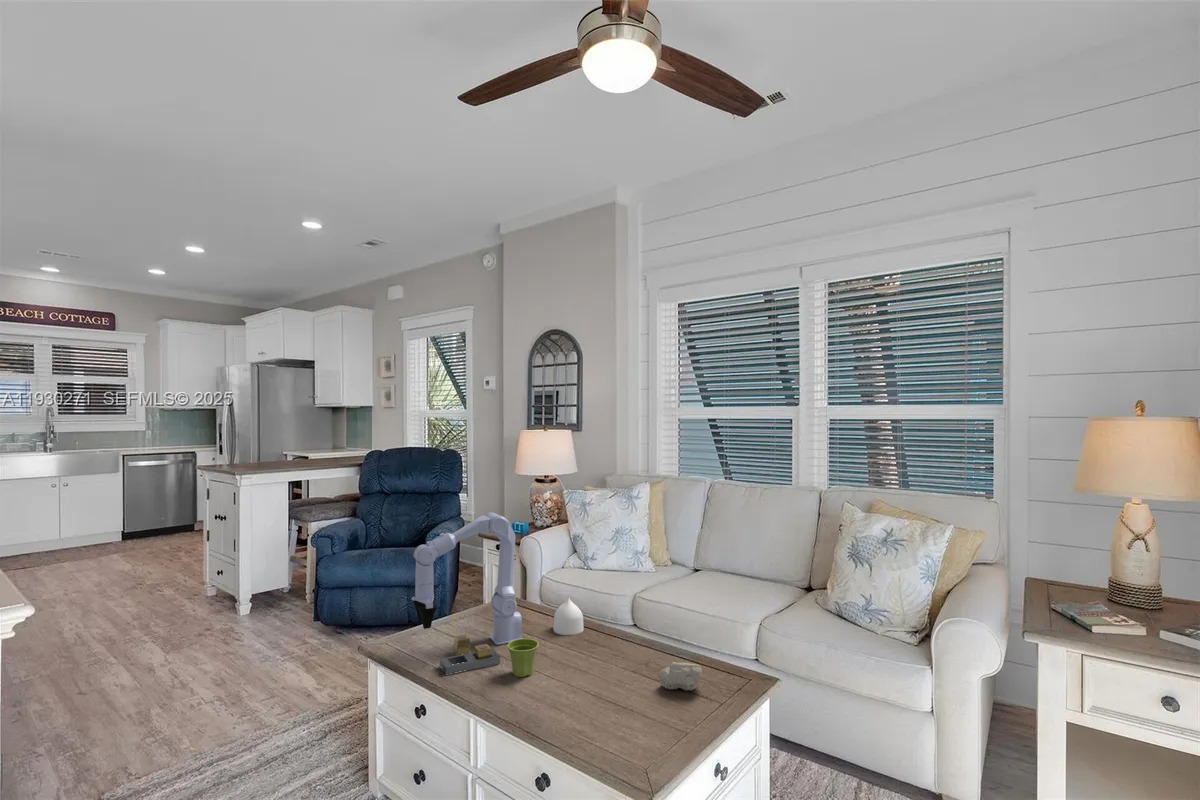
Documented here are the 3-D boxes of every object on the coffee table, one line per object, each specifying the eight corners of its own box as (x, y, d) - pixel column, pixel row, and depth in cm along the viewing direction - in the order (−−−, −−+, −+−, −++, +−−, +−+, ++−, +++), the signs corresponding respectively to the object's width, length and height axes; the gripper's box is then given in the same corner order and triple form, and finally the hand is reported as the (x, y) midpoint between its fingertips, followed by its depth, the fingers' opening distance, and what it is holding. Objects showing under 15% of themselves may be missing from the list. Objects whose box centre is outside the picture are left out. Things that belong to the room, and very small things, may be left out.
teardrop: (566, 637, 211) (566, 603, 211) (547, 629, 219) (547, 596, 219) (589, 630, 219) (589, 597, 219) (570, 622, 227) (570, 590, 227)
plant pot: (533, 681, 177) (533, 651, 177) (502, 678, 179) (502, 649, 179) (542, 667, 186) (542, 639, 186) (513, 665, 188) (513, 637, 188)
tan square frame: (486, 659, 193) (486, 643, 193) (490, 664, 189) (490, 647, 189) (474, 662, 191) (474, 645, 191) (478, 666, 187) (478, 649, 187)
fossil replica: (654, 683, 177) (667, 702, 167) (653, 656, 176) (666, 673, 166) (692, 675, 180) (707, 693, 170) (691, 648, 179) (706, 665, 169)
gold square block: (466, 649, 201) (466, 633, 201) (469, 653, 197) (469, 637, 197) (454, 651, 199) (454, 635, 199) (457, 656, 195) (457, 639, 195)
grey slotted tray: (492, 656, 195) (492, 648, 195) (499, 664, 189) (499, 656, 189) (440, 666, 187) (440, 659, 187) (445, 675, 181) (446, 667, 181)
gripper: (407, 578, 200) (407, 619, 200) (416, 590, 188) (416, 633, 188) (428, 575, 204) (428, 616, 204) (439, 586, 191) (439, 629, 191)
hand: (424, 624), depth 196 cm, fingers open, 7 cm apart
